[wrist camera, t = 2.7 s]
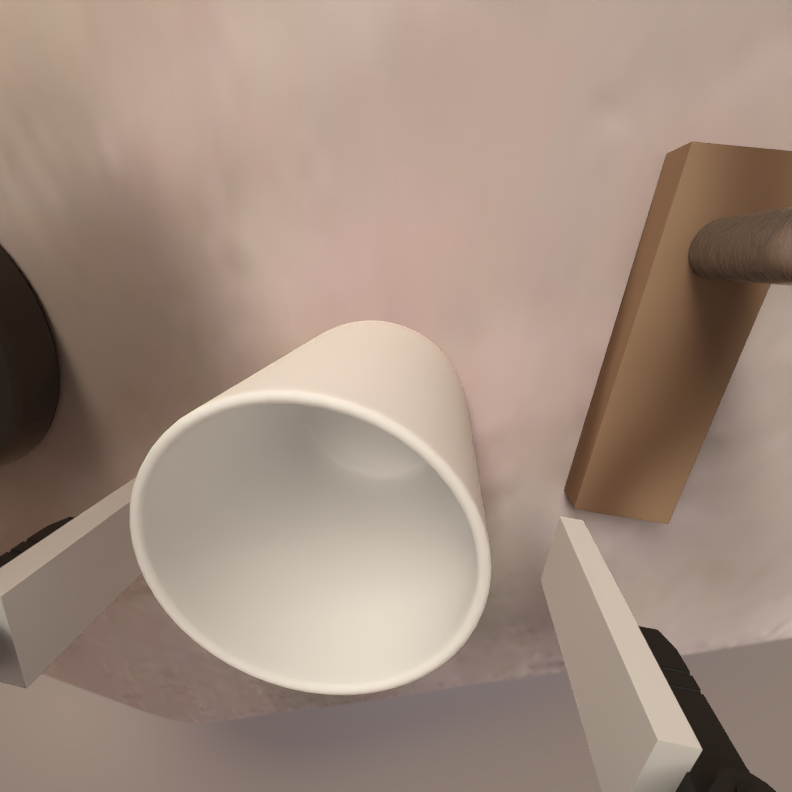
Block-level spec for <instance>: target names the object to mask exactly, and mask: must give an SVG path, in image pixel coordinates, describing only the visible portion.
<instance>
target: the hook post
mask: <svg viewBox="0 0 792 792" xmlns="http://www.w3.org/2000/svg"><path fill="white" fill-rule="evenodd" d="M688 260H689V264H690V267H691V269H692V270H693V271H694V272H695V273H696V274H697V275H698V276H700V277H702V278H705V279H711V280H724V281H738V282H752V283H765V284H779V285H792V207H788V208H782V209H775V210H769V211H762V212H756V213H749V214H743V215H736V216H730V217H723V218H719V219H716V220H714V221H711V222H710V223H708V224H706V225H705V226H704V227H703V228H702V229H700V230H699V232H698V233H697V234H696V235H695V237H694V238H693V240H692V242H691V244H690V247H689V252H688Z"/></svg>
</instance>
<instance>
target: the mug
mask: <svg viewBox="0 0 792 792" xmlns="http://www.w3.org/2000/svg"><path fill="white" fill-rule="evenodd" d="M130 532H131V539H132V545H133V548H134V552H135V555H136V559H137V562H138V565H139V567H140V569H141V572H142V574H143V576H144V579H145V581H146V582H147V584H148V586H149V588H150V589H151V591H152V593H153V595H154V596H155V598H156V599H157V601H158V602H159V603H160V605H161V606H162V607H163V609H164V610H165V611H166V613H167V614H168V615H169V616H170V617H171V618H172V620H173V621H174V622H175V623H176V624H177V625H178V626H179V627H180V628H181V629H182V630H183V631H184V632H185V633H186V634H187V635H188V636H189V637H191V638H192V639H193V640H194V641H195V642H196V643H198V644H199V645H200V646H202V647H203V648H204V649H206V650H207V651H208V652H210V653H211V654H212V655H214V656H215V657H217V658H219V659H220V660H222V661H224V662H225V663H227V664H228V665H230V666H232V667H234V668H236V669H238V670H240V671H242V672H244V673H246V674H248V675H250V676H253V677H255V678H258V679H260V680H263V681H265V682H268V683H271V684H275V685H278V686H281V687H285V688H288V689H293V690H298V691H303V692H307V693H316V694H325V695H358V694H369V693H374V692H380V691H385V690H389V689H393V688H396V687H399V686H403V685H406V684H408V683H410V682H413V681H415V680H417V679H420V678H422V677H424V676H426V675H427V674H429V673H431V672H432V671H434V670H436V669H437V668H439V667H440V666H441V665H443V664H444V663H445V662H446V661H448V660H449V659H450V658H451V657H453V656H454V655H455V654H456V653H457V651H458V650H459V649H460V648H461V647H462V646H463V645H464V644H465V643H466V642H467V640H468V638H469V637H470V635H471V634H472V632H473V631H474V629H475V628H476V626H477V624H478V622H479V619H480V617H481V615H482V613H483V611H484V608H485V605H486V601H487V597H488V593H489V590H490V582H491V570H492V564H491V553H490V543H489V537H488V531H487V525H486V518H485V512H484V506H483V499H482V493H481V487H480V481H479V474H478V468H477V462H476V455H475V449H474V443H473V436H472V430H471V424H470V418H469V411H468V405H467V401H466V396H465V392H464V389H463V386H462V383H461V381H460V378H459V376H458V374H457V372H456V370H455V368H454V367H453V365H452V363H451V362H450V361H449V359H448V358H447V357H446V355H445V354H444V353H443V352H442V351H441V350H440V349H439V348H438V347H437V346H436V345H435V344H434V343H432V342H431V341H430V340H428V339H427V338H426V337H424V336H423V335H421V334H419V333H418V332H416V331H414V330H412V329H409V328H407V327H404V326H402V325H398V324H394V323H391V322H383V321H358V322H351V323H348V324H344V325H341V326H337V327H335V328H333V329H330V330H328V331H326V332H324V333H322V334H320V335H319V336H317V337H315V338H314V339H312V340H310V341H309V342H307V343H305V344H304V345H302V346H300V347H299V348H297V349H295V350H294V351H292V352H290V353H289V354H287V355H285V356H283V357H282V358H280V359H278V360H277V361H275V362H273V363H272V364H270V365H268V366H267V367H265V368H263V369H262V370H260V371H258V372H257V373H255V374H253V375H252V376H250V377H248V378H247V379H245V380H243V381H242V382H240V383H238V384H237V385H235V386H233V387H232V388H230V389H228V390H227V391H225V392H223V393H222V394H220V395H218V396H217V397H215V398H213V399H212V400H210V401H208V402H207V403H205V404H203V405H202V406H200V407H198V408H197V409H195V410H193V411H192V412H190V413H188V414H187V415H185V416H184V417H182V418H180V419H179V420H178V421H177V422H176V423H174V424H173V425H172V426H171V427H170V428H169V429H168V430H166V431H165V432H164V433H163V434H162V436H161V437H160V438H159V439H158V440H157V442H156V443H155V444H154V445H153V447H152V448H151V449H150V451H149V453H148V455H147V456H146V458H145V460H144V462H143V464H142V465H141V467H140V469H139V471H138V474H137V477H136V480H135V483H134V486H133V490H132V496H131V502H130Z"/></svg>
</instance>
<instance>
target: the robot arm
mask: <svg viewBox="0 0 792 792" xmlns="http://www.w3.org/2000/svg"><path fill="white" fill-rule="evenodd" d="M57 398H58V366H57V360H56V354H55V349H54V345H53V341H52V338H51V334H50V331H49V329H48V326H47V323H46V320H45V318H44V316H43V313H42V311H41V309H40V307H39V305H38V303H37V300H36V298H35V297H34V295H33V293H32V291H31V289H30V288H29V286H28V284H27V283H26V281H25V279H24V278H23V276H22V275H21V273H20V272H19V270H18V269H17V267H16V266H15V265H14V263H13V262H12V260H11V259H10V258H9V257H8V255H7V254H6V253H5V252H4V250H3V249H2V248H1V247H0V467H1V466H3V465H5V464H7V463H9V462H11V461H14V460H16V459H18V458H20V457H22V456H23V455H25V454H26V453H28V452H29V451H30V450H31V449H33V448H34V447H35V446H36V445H37V444H38V443H39V442H40V440H41V439H42V438H43V436H44V435H45V433H46V432H47V430H48V428H49V426H50V424H51V422H52V419H53V416H54V413H55V409H56V405H57ZM136 477H137V476H136ZM136 477H135V478H134V479H132V480H131V481H129V482H128V483H126V484H125V485H123V486H122V487H120V488H119V489H117V490H116V491H114V492H113V493H111V494H110V495H108V496H107V497H105V498H104V499H102V500H101V501H99V502H98V503H96V504H95V505H93V506H92V507H90V508H89V509H87V510H86V511H84V512H83V513H81V514H80V515H78V516H77V517H75V518H74V517H68V518H66V519H63V520H61V521H58V522H56V523H54V524H51V525H49V526H47V527H45V528H44V529H42V530H40V531H39V532H37V533H36V534H34V535H33V536H31V537H30V538H28V539H27V541H26V542H22V543H20V544H19V545H17V546H16V547H14V548H13V549H11V551H10V552H9V553H8V552H6V553H5V554H3V555H2V556H0V682H2V683H6V684H11V685H15V686H19V687H23V688H27V687H28V686H29V685H30V684H31V683H32V682H33V681H34V680H35V679H36V678H37V677H38V676H39V675H40V674H41V673H42V672H43V671H44V670H45V669H46V668H47V667H48V666H49V665H50V664H51V663H52V662H53V661H54V660H55V659H57V658H58V657H59V656H60V655H61V654H62V653H63V652H64V651H65V650H66V649H67V648H68V647H69V646H70V645H71V644H72V643H73V642H74V641H75V640H76V639H77V638H78V637H79V636H80V635H81V634H82V633H83V632H84V631H85V630H86V629H87V628H88V627H89V626H90V625H91V624H92V623H93V622H94V621H95V620H96V619H97V618H98V617H99V616H100V615H101V614H102V613H103V612H104V611H105V610H106V609H107V608H108V607H109V606H110V605H111V604H112V603H113V602H114V601H115V600H116V599H117V598H118V597H119V596H120V595H121V594H122V593H123V592H124V591H125V590H126V589H127V588H128V587H129V586H130V585H131V584H132V583H133V582H134V581H135V580H136V579H137V578H138V577H139V576H140V575H141V574H142V572H141V569H140V567H139V565H138V562H137V559H136V555H135V552H134V548H133V545H132V539H131V532H130V502H131V496H132V490H133V486H134V483H135V480H136ZM541 583H542V587H543V590H544V594H545V597H546V601H547V604H548V608H549V611H550V615H551V618H552V622H553V625H554V628H555V632H556V635H557V639H558V642H559V646H560V649H561V653H562V656H563V660H564V663H565V667H566V670H567V673H568V677H569V681H570V684H571V687H572V691H573V694H574V698H575V701H576V705H577V708H578V712H579V715H580V719H581V722H582V726H583V729H584V732H585V736H586V740H587V743H588V746H589V750H590V753H591V757H592V760H593V764H594V767H595V771H596V774H597V778H598V781H599V785H600V788H601V791H602V792H776V791H775V790H774V789H773V788H771V787H770V786H769V785H768V784H767V783H765V782H764V781H762V780H761V779H759V778H757V777H756V776H754V775H753V774H751V773H750V772H749V770H748V769H747V768H746V766H745V764H744V763H743V761H742V759H741V757H740V756H739V754H738V753H737V751H736V749H735V747H734V746H733V744H732V742H731V741H730V739H729V737H728V736H727V734H726V732H725V730H724V729H723V727H722V725H721V724H720V722H719V720H718V719H717V717H716V715H715V713H714V712H713V710H712V708H711V707H710V705H709V703H708V702H707V700H706V698H705V697H704V695H702V694H701V692H700V688H699V686H698V685H697V683H696V681H695V680H694V678H693V676H690V672H689V670H688V668H687V666H686V664H685V663H684V661H683V660H682V658H681V656H680V654H679V653H678V651H677V649H676V648H675V647H674V646H673V645H672V644H671V643H670V642H669V641H668V640H667V639H666V638H665V637H664V636H663V635H662V634H661V633H660V632H659V631H658V630H656V629H651V628H645V627H640V626H638V625H637V623H636V621H635V619H634V617H633V615H632V613H631V611H630V610H629V608H628V606H627V604H626V602H625V600H624V598H623V596H622V594H621V592H620V590H619V589H618V587H617V585H616V583H615V581H614V579H613V577H612V575H611V573H610V571H609V569H608V567H607V566H606V564H605V562H604V560H603V558H602V556H601V554H600V552H599V550H598V548H597V546H596V544H595V543H594V541H593V539H592V537H591V535H590V533H589V531H588V529H587V527H586V525H585V523H584V521H583V520H578V519H572V518H566V517H561V516H560V517H559V521H558V524H557V527H556V530H555V534H554V537H553V540H552V544H551V547H550V550H549V554H548V557H547V560H546V563H545V567H544V570H543V573H542V577H541Z"/></svg>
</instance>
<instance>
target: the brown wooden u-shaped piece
mask: <svg viewBox="0 0 792 792" xmlns="http://www.w3.org/2000/svg"><path fill="white" fill-rule="evenodd" d="M788 207H792V151H784V150H774V149H763V148H753V147H742V146H732V145H721V144H711V143H700V142H690V143H688V144H686V145H684V146H682V147H680V148H678V149H676V150H674V151H672V152H670V153H667V155H666V158H665V162H664V165H663V168H662V172H661V175H660V178H659V181H658V185H657V188H656V191H655V194H654V198H653V201H652V204H651V208H650V211H649V214H648V217H647V221H646V224H645V227H644V231H643V234H642V237H641V240H640V244H639V247H638V250H637V253H636V257H635V260H634V263H633V267H632V270H631V273H630V276H629V280H628V283H627V286H626V289H625V293H624V296H623V299H622V303H621V306H620V309H619V312H618V316H617V319H616V322H615V325H614V329H613V332H612V335H611V339H610V342H609V345H608V348H607V352H606V355H605V358H604V361H603V365H602V368H601V371H600V375H599V378H598V381H597V384H596V388H595V391H594V394H593V398H592V401H591V404H590V407H589V411H588V414H587V417H586V420H585V424H584V427H583V430H582V434H581V437H580V440H579V443H578V447H577V450H576V453H575V456H574V460H573V463H572V466H571V470H570V473H569V476H568V479H567V483H566V486H565V489H564V490H565V492H566V494H567V496H568V498H569V500H570V502H571V504H572V506H573V507H574V509H579V510H586V511H592V512H598V513H604V514H610V515H616V516H622V517H628V518H634V519H640V520H647V521H653V522H659V523H665V524H668V523H669V521H670V519H671V516H672V514H673V512H674V509H675V507H676V505H677V502H678V500H679V498H680V495H681V493H682V491H683V488H684V486H685V484H686V481H687V479H688V476H689V474H690V472H691V469H692V467H693V465H694V462H695V460H696V458H697V455H698V453H699V451H700V448H701V446H702V444H703V441H704V439H705V437H706V434H707V432H708V430H709V427H710V425H711V423H712V420H713V418H714V416H715V413H716V411H717V408H718V406H719V404H720V401H721V399H722V397H723V394H724V392H725V390H726V387H727V385H728V383H729V380H730V378H731V376H732V373H733V371H734V369H735V366H736V364H737V362H738V359H739V357H740V355H741V352H742V350H743V348H744V345H745V343H746V340H747V338H748V336H749V333H750V331H751V329H752V326H753V324H754V322H755V319H756V317H757V315H758V312H759V310H760V308H761V305H762V303H763V301H764V298H765V296H766V294H767V291H768V289H769V287H770V284H765V283H752V282H738V281H724V280H711V279H705V278H702V277H700V276H698V275H697V274H696V273H695V272H694V271H693V270H692V269H691V267H690V264H689V260H688V252H689V247H690V244H691V242H692V240H693V238H694V237H695V235H696V234H697V233H698V232H699V230H700V229H702V228H703V227H704V226H705V225H706V224H708V223H710V222H711V221H714V220H716V219H719V218H723V217H730V216H736V215H743V214H749V213H756V212H762V211H769V210H775V209H782V208H788Z"/></svg>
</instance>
